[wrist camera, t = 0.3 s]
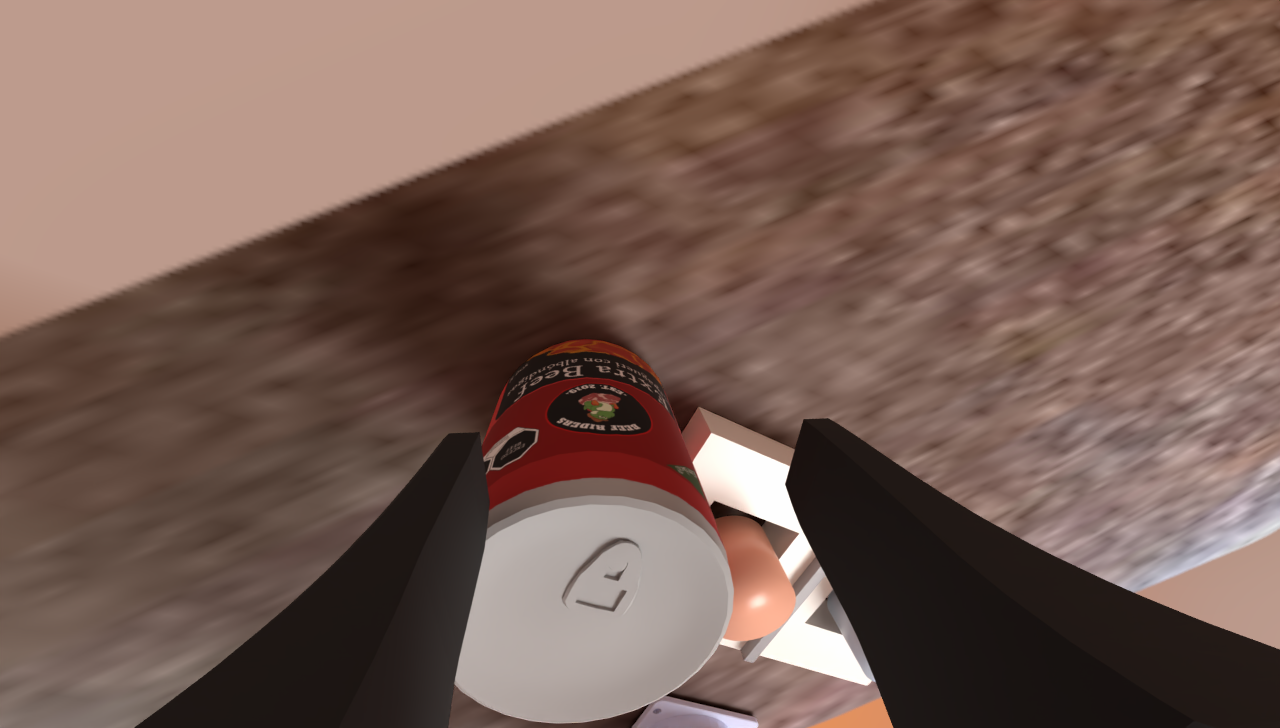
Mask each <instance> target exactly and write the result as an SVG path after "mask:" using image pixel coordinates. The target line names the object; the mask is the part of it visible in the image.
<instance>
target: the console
mask: <svg viewBox="0 0 1280 728" xmlns="http://www.w3.org/2000/svg"><path fill="white" fill-rule="evenodd" d="M682 437H683V439H684V442H685V444H686V447H687V449H688V452H689V455H690V457H691V460H692V462H693V465H694V467H695V470H696V473H697V475H698V478H699V480H700V483H701V485H702V488H703V491H704V493H705V496H706V498H707V501H708V503H709V506H711V504H712V503H713V501H717V502H719V503H722V504H725V505H727V506H730V507H732V508H735V509H738V510H740V511H743V512H745V513H748V514H751V515H753V516H756V517H759V518H761V519H764V520H766V521H765V523H764V524H763V525H762V528H763V530H764V532H765V534H766V536H767V538H768V540H769V542H770V544H771V546H772V548H773V550H774V552H775V553H776V555H777V557H778V559H779V561H780V563H781V565H782V567H783V569H784V571H785V573H786V575H787V577H788V579H789V581H790V583H791V585H792V587H793V589H794V592H795V595H796V603H795V607H794V610H793V612H792V614H791V616H790V617H789V619H788V620H787V621H786V622H785V623H784V624H783V625H782V626H781V627H780V628H778V629H777V630H775V631H774V632H772V633H770V634H768V635H766V636H764V637H761V638H758V639H754V640H749V641H732V640H727V639H724V638H722V640H721V642H720V644H721V645H725V646H728V647H732V648H736V649H739V650H741V653H742V656H743V659H744V661H748V662H751V663H753V662H754V661H755V660H756V659H757V658H758V656H759V655H760V656H764V657H767V658H771V659H774V660H778V661H782V662H785V663H789V664H792V665H796V666H799V667H803V668H806V669H810V670H813V671H817V672H820V673H824V674H828V675H831V676H835V677H838V678H842V679H845V680H849V681H852V682H856V683H859V684H863V685H866V686H867V685H868V684H869V683H870V682H871V681H872V680H870V679H869V678H867V677H866V675H865V674H864V672H863V670H862V669H861V667H860V665H859V663H858V662H857V660H856V658H855V656H854V654H853V653H852V651H851V649H850V647H849V646H848V644H847V642H846V640H845V638H844V637H843V635H842V633H841V631H840V630H839V628H838V626H837V624H836V622H835V621H834V619H833V617H832V615H831V613H830V612H829V610H828V606H827V600H825V599H826V597H827V596H828V595H829V594H830V593H831V592H832V590H833V588H832V587H831V585H830V583H829V581H828V579H827V577H826V575H825V573H824V571H823V570H822V568H821V566H820V564H819V562H818V560H817V558H816V556H815V554H814V552H813V550H812V548H811V547H810V545H809V543H808V541H807V539H806V537H805V535H804V533H803V531H802V529H801V527H800V525H799V522H798V520H797V517H796V515H795V512H794V509H793V507H792V504H791V501H790V498H789V495H788V492H787V489H786V487H785V482H786V479H787V475H788V472H789V468H790V465H791V461H792V458H793V454H794V451H795V449H793V448H791V447H788V446H786V445H784V444H782V443H779V442H777V441H775V440H773V439H770V438H768V437H766V436H764V435H761V434H759V433H757V432H755V431H752V430H750V429H748V428H746V427H743V426H741V425H739V424H737V423H734V422H732V421H730V420H728V419H725V418H723V417H721V416H719V415H716V414H714V413H712V412H710V411H707V410H705V409H703V408H701V407H698V408H697V410H696V412H695V413H694V415H693V416H692V418H691V419H690V421H689V423H688V424H687V426H686V427H685V429H684V431H683V432H682Z"/></svg>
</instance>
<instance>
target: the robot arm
mask: <svg viewBox="0 0 1280 728" xmlns="http://www.w3.org/2000/svg"><path fill="white" fill-rule="evenodd" d="M785 487H786V489H787V492H788V495H789V498H790V501H791V504H792V507H793V509H794V512H795V515H796V517H797V520H798V522H799V525H800V527H801V529H802V531H803V533H804V535H805V537H806V539H807V541H808V543H809V545H810V547H811V548H812V550H813V552H814V554H815V556H816V558H817V560H818V562H819V564H820V566H821V568H822V570H823V571H824V573H825V575H826V577H827V579H828V581H829V583H830V585H831V587H832V588H833V590H834V592H835V594H836V596H837V598H838V600H839V602H840V604H841V606H842V607H843V609H844V611H845V613H846V615H847V617H848V619H849V621H850V623H851V625H852V627H853V629H854V632H855V634H856V636H857V638H858V640H859V642H860V645H861V647H862V650H863V652H864V655H865V657H866V659H867V662H868V664H869V667H870V669H871V672H872V674H873V676H874V679H875V681H876V684H877V686H878V689H879V691H880V694H881V697H882V699H883V701H884V704H885V707H886V710H887V712H888V715H889V717H890V720H891V723H892V725H893V728H1280V650H1279V649H1276V648H1274V647H1271V646H1268V645H1266V644H1263V643H1261V642H1258V641H1255V640H1252V639H1250V638H1247V637H1244V636H1241V635H1239V634H1236V633H1233V632H1231V631H1228V630H1225V629H1222V628H1220V627H1217V626H1214V625H1212V624H1209V623H1206V622H1204V621H1201V620H1198V619H1196V618H1193V617H1191V616H1188V615H1186V614H1184V613H1181V612H1179V611H1176V610H1174V609H1172V608H1169V607H1167V606H1164V605H1162V604H1159V603H1157V602H1155V601H1152V600H1150V599H1147V598H1145V597H1142V596H1140V595H1138V594H1135V593H1133V592H1131V591H1129V590H1126V589H1124V588H1122V587H1120V586H1117V585H1115V584H1113V583H1110V582H1108V581H1106V580H1104V579H1101V578H1099V577H1097V576H1095V575H1093V574H1091V573H1089V572H1087V571H1085V570H1082V569H1080V568H1078V567H1076V566H1074V565H1072V564H1070V563H1068V562H1066V561H1063V560H1061V559H1059V558H1057V557H1055V556H1053V555H1051V554H1049V553H1047V552H1045V551H1043V550H1041V549H1039V548H1037V547H1035V546H1033V545H1031V544H1029V543H1028V542H1026V541H1024V540H1022V539H1020V538H1018V537H1016V536H1015V535H1013V534H1011V533H1009V532H1007V531H1005V530H1003V529H1002V528H1000V527H998V526H996V525H994V524H992V523H991V522H989V521H987V520H985V519H984V518H982V517H980V516H978V515H977V514H975V513H973V512H972V511H970V510H968V509H967V508H965V507H963V506H962V505H960V504H959V503H957V502H955V501H954V500H952V499H950V498H949V497H947V496H945V495H944V494H942V493H941V492H939V491H937V490H936V489H934V488H933V487H931V486H930V485H928V484H927V483H925V482H923V481H922V480H920V479H919V478H917V477H916V476H914V475H913V474H911V473H910V472H908V471H907V470H905V469H904V468H902V467H901V466H899V465H898V464H896V463H895V462H893V461H892V460H891V459H889V458H888V457H886V456H885V455H883V454H882V453H880V452H879V451H877V450H876V449H874V448H873V447H872V446H870V445H869V444H867V443H866V442H864V441H863V440H861V439H860V438H858V437H857V436H855V435H854V434H852V433H851V432H849V431H848V430H846V429H845V428H843V427H842V426H840V425H839V424H837V423H835V422H834V421H832V420H830V419H829V418H826V419H804V420H803V423H802V427H801V430H800V434H799V437H798V441H797V444H796V448H795V451H794V454H793V458H792V461H791V465H790V468H789V472H788V475H787V479H786V482H785ZM489 506H490V499H489V493H488V486H487V479H486V473H485V466H484V459H483V453H482V446H481V439H480V433H479V432H475V433H450V434H448V435H447V436H446V437H445V438H444V439H443V440H442V442H441V443H440V444H439V445H438V447H437V448H436V449H435V450H434V452H433V453H432V454H431V456H430V457H429V458H428V459H427V461H426V462H425V463H424V464H423V466H422V467H421V468H420V469H419V471H418V472H417V473H416V474H415V475H414V477H413V478H412V479H411V480H410V482H409V483H408V484H407V485H406V486H405V487H404V489H403V490H402V491H401V492H400V493H399V494H398V495H397V497H396V498H395V499H394V500H393V501H392V502H391V504H390V505H389V506H388V507H387V508H386V509H385V511H384V512H383V513H382V514H381V515H380V516H379V517H378V518H377V519H376V520H375V521H374V523H373V524H372V525H371V526H370V527H369V528H368V529H367V530H366V531H365V532H364V533H363V534H362V535H361V536H360V537H359V538H358V539H357V540H356V541H355V543H354V544H353V545H352V546H351V547H350V548H349V549H348V550H347V551H346V552H345V553H344V554H343V555H342V556H341V557H340V558H339V559H338V560H337V561H336V562H335V563H334V564H333V565H332V566H331V567H330V568H329V569H328V570H327V571H326V572H325V573H324V574H323V575H321V576H320V577H319V578H318V579H317V580H316V581H315V582H314V583H313V584H312V585H311V586H310V587H309V588H308V589H306V590H305V591H304V592H303V593H302V594H301V595H300V596H299V597H298V598H297V599H296V600H294V601H293V602H292V603H291V604H290V605H289V606H288V607H287V608H285V609H284V610H283V611H282V612H281V613H280V614H278V615H277V616H276V617H275V618H274V619H273V620H271V621H270V622H269V623H268V624H267V625H265V626H264V627H263V628H262V629H261V630H260V631H258V632H257V633H256V634H255V635H254V636H252V637H251V638H250V639H249V640H248V641H246V642H245V643H244V644H243V645H241V646H240V647H239V648H238V649H237V650H235V651H234V652H233V653H232V654H231V655H229V656H228V657H227V658H226V659H224V660H223V661H222V662H221V663H220V664H218V665H217V666H216V667H215V668H213V669H212V670H211V671H209V672H208V673H207V674H206V675H204V676H203V677H202V678H200V679H199V680H198V681H196V682H195V683H194V684H192V685H191V686H190V687H188V688H187V689H186V690H184V691H183V692H182V693H180V694H179V695H178V696H176V697H175V698H174V699H173V700H171V701H170V702H169V703H167V704H166V705H165V706H163V707H162V708H161V709H159V710H158V711H156V712H155V713H154V714H152V715H151V716H150V717H148V718H147V719H145V720H144V721H143V722H141V723H140V724H139V725H137V726H136V727H135V728H448V724H449V717H450V710H451V703H452V696H453V689H454V682H455V677H456V672H457V667H458V662H459V657H460V653H461V648H462V644H463V640H464V636H465V631H466V627H467V623H468V618H469V614H470V610H471V606H472V601H473V597H474V593H475V589H476V584H477V580H478V576H479V571H480V567H481V563H482V558H483V554H484V549H485V542H486V534H487V525H488V516H489ZM757 727H758V722H757V719H756V718H755V717H753V716H749V715H744V714H740V713H736V712H732V711H728V710H723V709H719V708H715V707H711V706H706V705H702V704H698V703H694V702H690V701H685V700H681V699H677V698H673V697H668V696H664V697H662V698H661V699H659V700H657V701H655V702H652V703H650V704H649V705H648V707H647V708H646V709H645V711H644V712H643V713H642V715H641V716H640V717H639V719H638V720H637V721H636V723H635V724H634V725H633V726H632V728H757Z"/></svg>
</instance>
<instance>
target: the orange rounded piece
mask: <svg viewBox="0 0 1280 728" xmlns="http://www.w3.org/2000/svg"><path fill="white" fill-rule="evenodd" d="M715 521H716V525H717V529H718V532H719V534H720V537H721V539H722V542H723V545H724V547H725V550H726V554H727V559H728V564H729V568H730V572H731V577H732V582H733V587H734V597H733V612H732V615H731V618H730V621H729V624H728V627H727V630H726V633H725V635H724V637H723V638H724V639H727V640H732V641H749V640H754V639H758V638H761V637H764V636H766V635H768V634H770V633H772V632H774V631H775V630H777V629H778V628H780V627H781V626H782V625H783V624H784V623H785V622H786V621H787V620H788V619H789V617H790V616H791V614H792V612H793V610H794V607H795V603H796V595H795V592H794V589H793V587H792V585H791V583H790V581H789V579H788V577H787V575H786V573H785V571H784V569H783V567H782V565H781V563H780V561H779V559H778V557H777V555H776V553H775V552H774V550H773V548H772V546H771V544H770V542H769V540H768V538H767V536H766V534H765V532H764V530H763V528H762V527H761V526H760V525H759V524H758V523H757V522H756V521H754V520H752V519H750V518H747V517H744V516H735V515H733V516H724V517H720V518H717V519H715Z"/></svg>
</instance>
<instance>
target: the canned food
mask: <svg viewBox="0 0 1280 728" xmlns="http://www.w3.org/2000/svg"><path fill="white" fill-rule="evenodd" d="M482 453H483V459H484V466H485V473H486V479H487V486H488V493H489V499H490V506H489V516H488V525H487V534H486V542H485V549H484V554H483V558H482V563H481V567H480V571H479V576H478V580H477V584H476V589H475V593H474V597H473V601H472V606H471V610H470V614H469V618H468V623H467V627H466V631H465V636H464V640H463V644H462V648H461V653H460V657H459V662H458V667H457V672H456V677H455V682H454V684H455V685H456V686H457V687H458V688H459V689H460V690H461V691H462V692H463V693H464V694H466V695H467V696H469V697H471V698H472V699H474V700H475V701H477V702H478V703H480V704H481V705H483V706H485V707H488V708H490V709H492V710H495V711H497V712H500V713H502V714H504V715H508V716H512V717H516V718H520V719H524V720H528V721H536V722H547V723H580V722H588V721H594V720H600V719H606V718H611V717H614V716H618V715H621V714H624V713H628V712H631V711H634V710H637V709H639V708H641V707H643V706H646V705H648V704H650V703H652V702H655V701H657V700H659V699H661V698H662V697H664V696H665V695H667V694H669V693H670V692H672V691H673V690H675V689H677V688H678V687H680V686H681V685H682V684H684V683H685V682H686V681H687V680H688V679H689V678H691V677H692V676H693V675H694V674H695V673H697V672H698V671H699V670H700V669H701V668H702V666H703V665H704V664H705V663H706V662H707V660H708V659H709V658H710V657H711V656H712V655H713V653H714V652H715V651H716V649H717V647H718V645H719V644H720V642H721V640H722V638H723V637H724V635H725V633H726V630H727V627H728V624H729V621H730V618H731V615H732V612H733V597H734V587H733V582H732V577H731V572H730V568H729V564H728V559H727V554H726V550H725V547H724V545H723V542H722V539H721V537H720V534H719V532H718V529H717V525H716V521H715V519H714V516H713V514H712V511H711V509H710V506H709V503H708V501H707V498H706V496H705V493H704V491H703V488H702V485H701V483H700V480H699V478H698V475H697V473H696V470H695V467H694V465H693V462H692V460H691V457H690V455H689V452H688V449H687V447H686V444H685V442H684V439H683V437H682V434H681V431H680V429H679V426H678V424H677V421H676V419H675V416H674V413H673V411H672V408H671V406H670V403H669V401H668V398H667V395H666V393H665V391H664V388H663V386H662V384H661V382H660V380H659V378H658V376H657V375H656V374H655V373H654V371H653V370H652V369H651V368H650V366H649V365H648V364H647V363H646V362H644V361H643V360H642V359H641V358H639V357H638V356H637V355H636V354H634V353H632V352H630V351H628V350H626V349H624V348H623V347H621V346H618V345H616V344H612V343H609V342H605V341H602V340H591V339H580V340H570V341H566V342H563V343H559V344H556V345H553V346H551V347H549V348H547V349H545V350H543V351H541V352H539V353H537V354H536V355H534V356H532V357H531V358H530V359H529V360H527V361H526V362H525V363H524V364H522V365H521V366H520V367H519V368H518V369H517V370H516V372H515V373H514V374H513V375H512V376H511V378H510V379H509V380H508V382H507V384H506V385H505V387H504V389H503V391H502V393H501V395H500V397H499V400H498V403H497V406H496V409H495V411H494V414H493V417H492V420H491V422H490V425H489V428H488V431H487V434H486V436H485V439H484V442H483V445H482Z"/></svg>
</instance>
